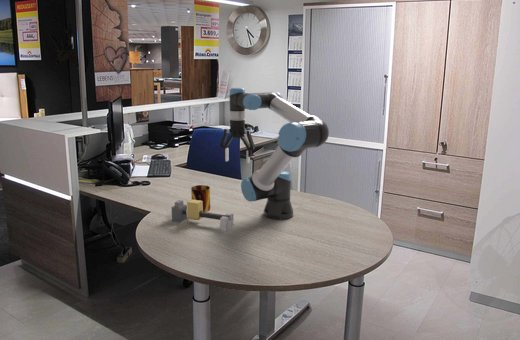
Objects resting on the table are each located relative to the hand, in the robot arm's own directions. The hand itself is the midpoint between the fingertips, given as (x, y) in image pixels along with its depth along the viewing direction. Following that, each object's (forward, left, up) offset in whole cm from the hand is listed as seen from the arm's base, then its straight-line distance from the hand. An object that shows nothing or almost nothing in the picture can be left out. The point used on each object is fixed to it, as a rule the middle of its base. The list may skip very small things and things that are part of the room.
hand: (237, 161), depth 230 cm
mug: (+17, +8, -26) cm, 32 cm away
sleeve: (+12, +24, -24) cm, 36 cm away
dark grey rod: (+8, +24, -23) cm, 34 cm away
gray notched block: (-5, +24, -26) cm, 36 cm away
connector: (+21, +24, -26) cm, 41 cm away
